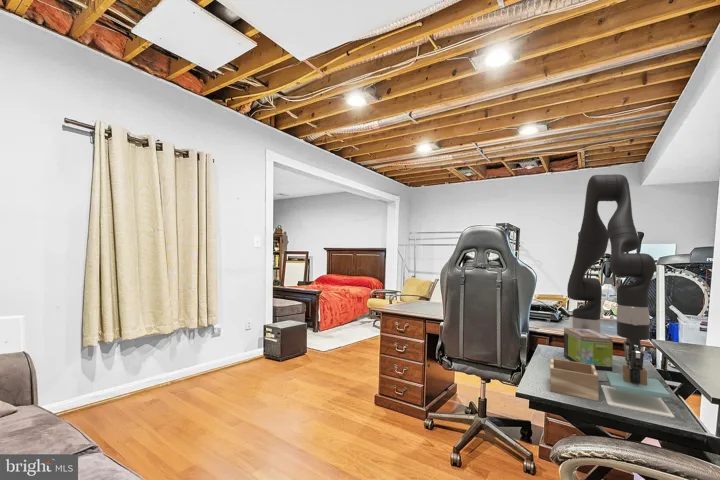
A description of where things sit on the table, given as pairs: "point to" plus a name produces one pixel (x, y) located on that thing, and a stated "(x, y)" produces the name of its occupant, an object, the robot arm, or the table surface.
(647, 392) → the lid
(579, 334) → the tea box
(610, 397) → the mat
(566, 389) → the crate
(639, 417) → the table surface
